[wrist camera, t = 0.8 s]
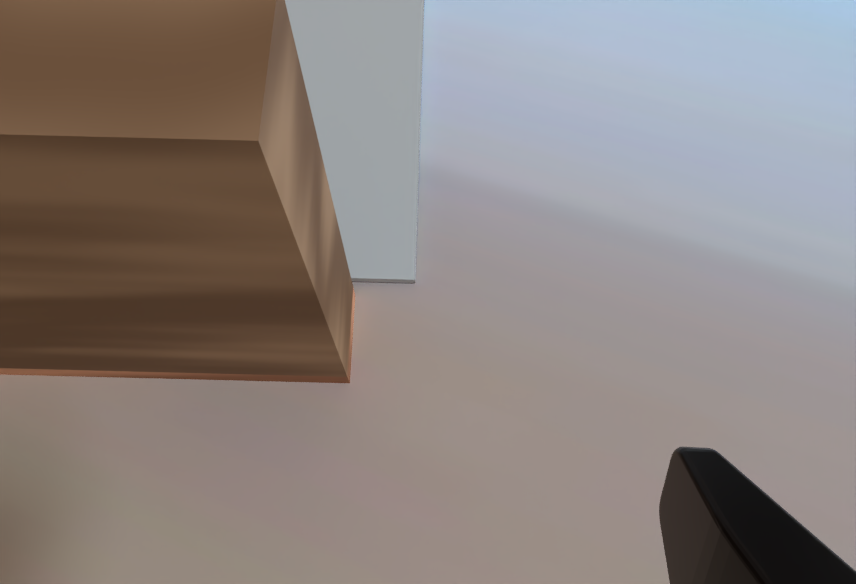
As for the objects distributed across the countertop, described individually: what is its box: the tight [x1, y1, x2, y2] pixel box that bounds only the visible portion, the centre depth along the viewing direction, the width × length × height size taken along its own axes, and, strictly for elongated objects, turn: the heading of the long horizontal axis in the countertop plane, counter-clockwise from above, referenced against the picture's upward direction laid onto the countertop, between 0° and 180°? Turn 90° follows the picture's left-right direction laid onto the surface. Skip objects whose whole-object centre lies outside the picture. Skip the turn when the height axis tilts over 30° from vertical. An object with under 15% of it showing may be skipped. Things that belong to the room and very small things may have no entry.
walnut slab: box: [0, 0, 355, 383], centre depth 17 cm, size 3×12×14 cm, turn 89°
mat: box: [285, 0, 424, 283], centre depth 27 cm, size 16×16×1 cm
